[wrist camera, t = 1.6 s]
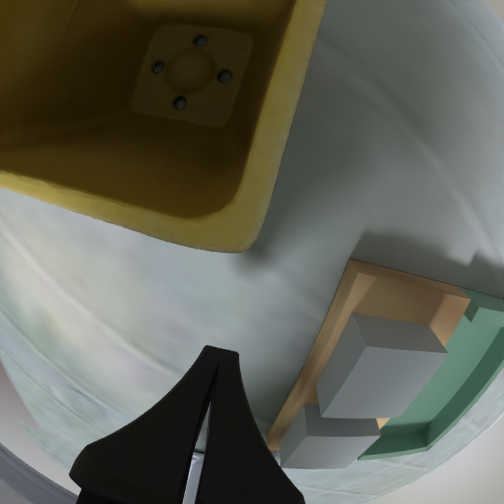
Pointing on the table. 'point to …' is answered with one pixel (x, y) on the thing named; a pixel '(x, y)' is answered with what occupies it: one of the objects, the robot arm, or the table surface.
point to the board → (374, 304)
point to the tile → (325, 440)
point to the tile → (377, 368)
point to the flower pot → (153, 110)
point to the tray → (449, 382)
